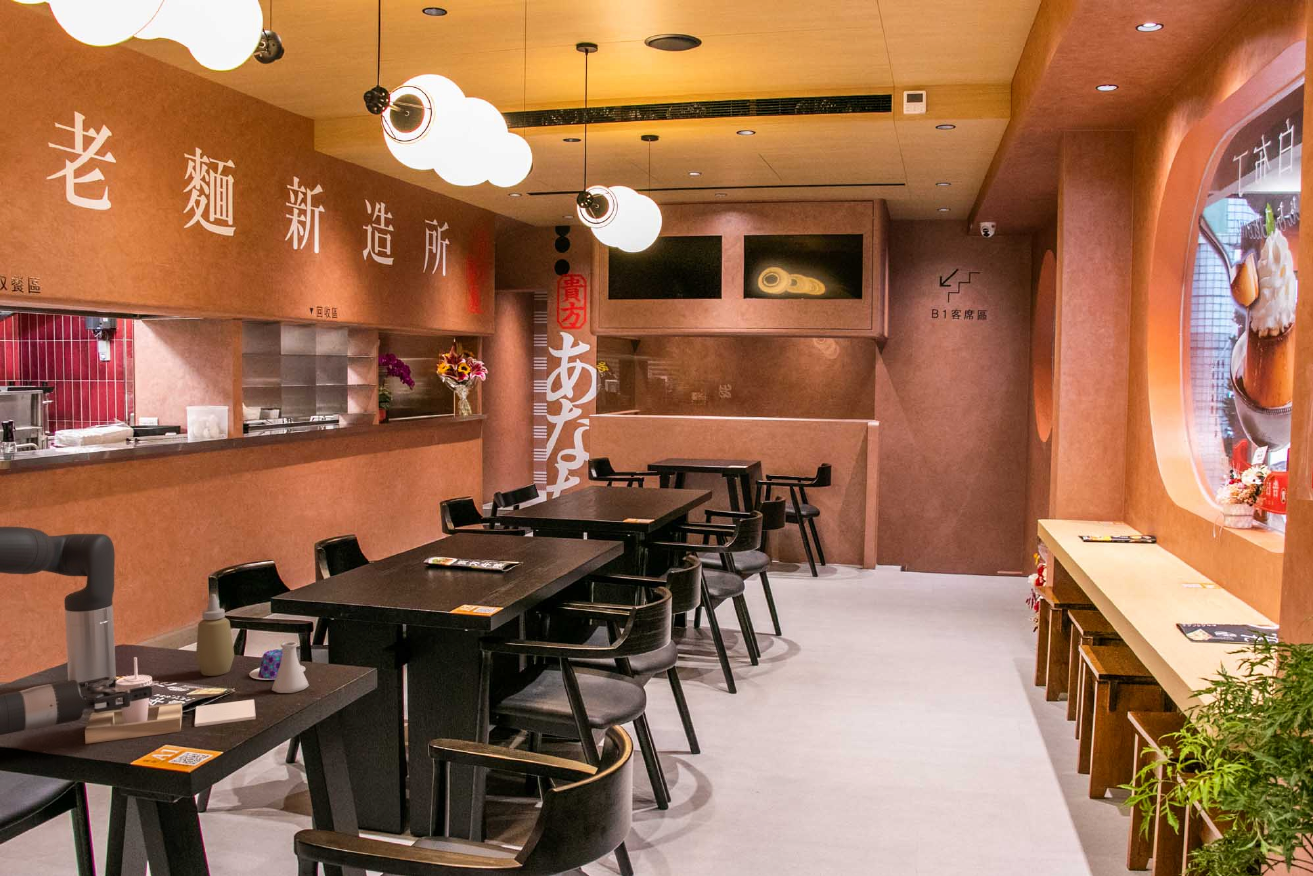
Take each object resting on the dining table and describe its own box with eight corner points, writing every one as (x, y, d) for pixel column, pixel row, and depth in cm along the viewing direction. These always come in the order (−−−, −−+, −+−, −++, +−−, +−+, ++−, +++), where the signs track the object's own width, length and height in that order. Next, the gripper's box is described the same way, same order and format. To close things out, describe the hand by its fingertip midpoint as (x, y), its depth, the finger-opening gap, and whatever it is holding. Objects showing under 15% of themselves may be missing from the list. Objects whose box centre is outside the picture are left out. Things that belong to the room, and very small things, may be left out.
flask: (265, 692, 222) (263, 646, 222) (289, 682, 229) (287, 637, 228) (292, 696, 220) (290, 649, 219) (315, 686, 226) (314, 641, 226)
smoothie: (139, 735, 197) (135, 663, 196) (109, 733, 198) (106, 661, 197) (161, 724, 203) (158, 653, 202) (132, 722, 204) (129, 652, 203)
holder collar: (92, 725, 202) (91, 713, 202) (182, 714, 208) (181, 702, 208) (85, 743, 193) (84, 730, 192) (180, 731, 199) (179, 718, 199)
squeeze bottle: (225, 678, 232) (222, 598, 231) (189, 678, 232) (186, 599, 231) (240, 667, 240) (238, 590, 239) (206, 667, 240) (203, 590, 239)
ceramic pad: (196, 709, 211) (196, 706, 211) (254, 702, 216) (254, 699, 216) (194, 726, 201) (194, 723, 201) (255, 719, 205) (255, 716, 205)
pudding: (291, 683, 229) (290, 660, 229) (239, 682, 230) (238, 659, 230) (314, 667, 241) (313, 645, 241) (264, 666, 242) (263, 644, 242)
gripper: (58, 694, 185) (155, 675, 196) (39, 676, 195) (132, 659, 206) (60, 735, 185) (157, 714, 196) (41, 715, 196) (134, 696, 207)
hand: (144, 686), depth 201 cm, fingers open, 8 cm apart
